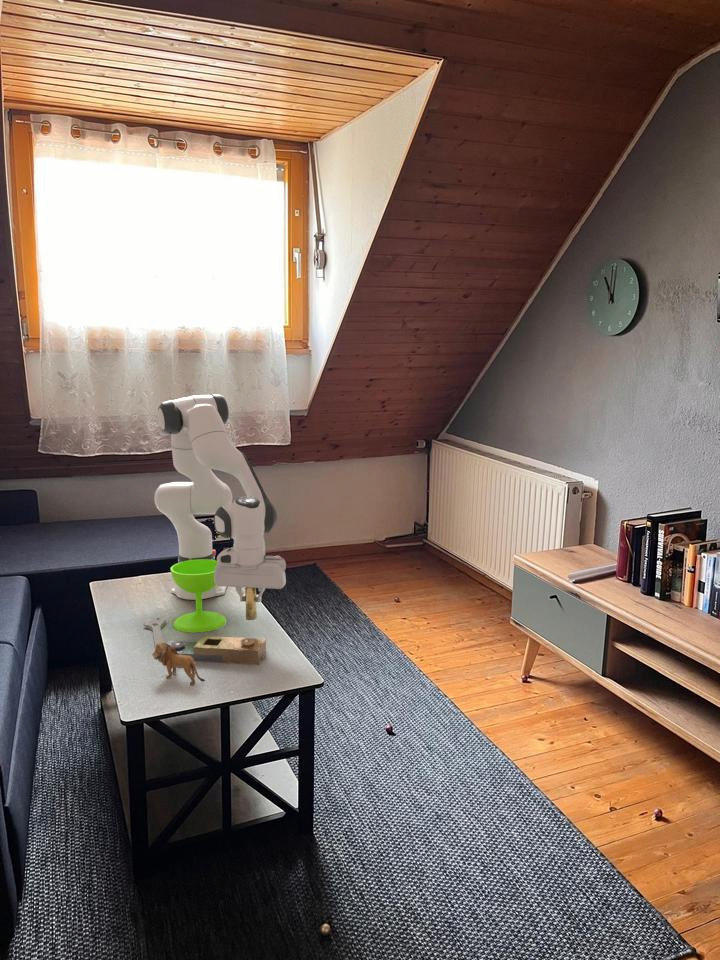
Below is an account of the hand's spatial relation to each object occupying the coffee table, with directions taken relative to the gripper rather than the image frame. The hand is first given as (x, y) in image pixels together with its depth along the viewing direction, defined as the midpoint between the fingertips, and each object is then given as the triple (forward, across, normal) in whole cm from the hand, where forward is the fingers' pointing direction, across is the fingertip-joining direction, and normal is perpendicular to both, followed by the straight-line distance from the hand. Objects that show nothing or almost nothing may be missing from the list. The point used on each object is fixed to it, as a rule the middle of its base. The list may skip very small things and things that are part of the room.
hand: (250, 601), depth 214 cm
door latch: (+12, +8, +11) cm, 18 cm away
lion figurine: (+12, +13, +26) cm, 31 cm away
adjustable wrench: (+13, +30, -1) cm, 33 cm away
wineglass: (+13, +20, -12) cm, 27 cm away
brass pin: (+5, 0, 0) cm, 5 cm away
